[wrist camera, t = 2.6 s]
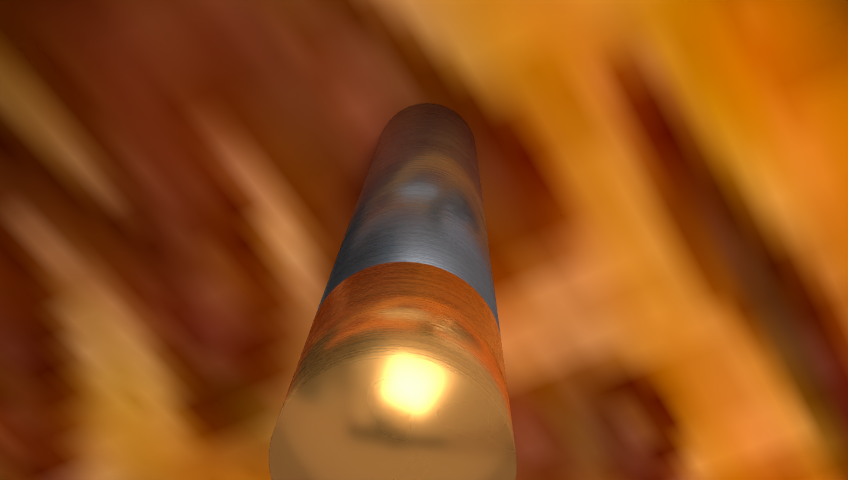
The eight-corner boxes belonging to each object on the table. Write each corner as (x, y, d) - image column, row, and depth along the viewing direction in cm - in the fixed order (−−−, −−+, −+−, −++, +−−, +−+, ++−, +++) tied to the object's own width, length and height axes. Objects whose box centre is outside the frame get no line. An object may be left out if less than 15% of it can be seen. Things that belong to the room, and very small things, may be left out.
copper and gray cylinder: (373, 190, 25) (261, 550, 10) (385, 96, 24) (277, 341, 9) (467, 203, 25) (494, 580, 10) (482, 110, 24) (537, 376, 9)
